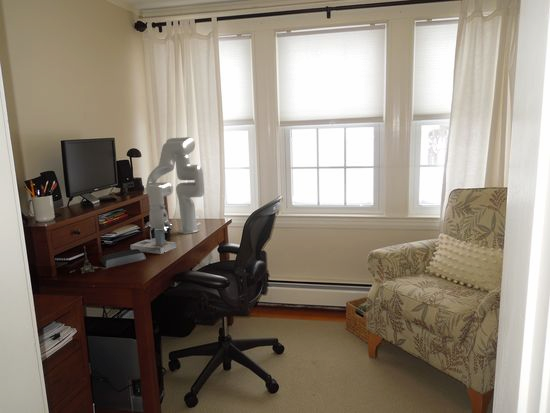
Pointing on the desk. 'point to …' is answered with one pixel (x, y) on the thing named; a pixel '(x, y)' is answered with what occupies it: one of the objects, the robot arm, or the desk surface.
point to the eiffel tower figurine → (88, 265)
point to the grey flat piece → (153, 246)
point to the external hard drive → (122, 258)
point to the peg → (160, 237)
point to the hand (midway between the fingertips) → (160, 238)
